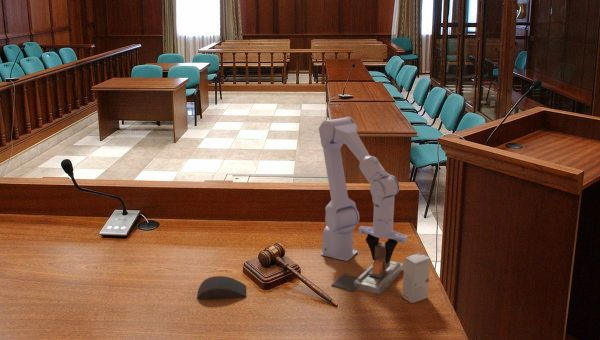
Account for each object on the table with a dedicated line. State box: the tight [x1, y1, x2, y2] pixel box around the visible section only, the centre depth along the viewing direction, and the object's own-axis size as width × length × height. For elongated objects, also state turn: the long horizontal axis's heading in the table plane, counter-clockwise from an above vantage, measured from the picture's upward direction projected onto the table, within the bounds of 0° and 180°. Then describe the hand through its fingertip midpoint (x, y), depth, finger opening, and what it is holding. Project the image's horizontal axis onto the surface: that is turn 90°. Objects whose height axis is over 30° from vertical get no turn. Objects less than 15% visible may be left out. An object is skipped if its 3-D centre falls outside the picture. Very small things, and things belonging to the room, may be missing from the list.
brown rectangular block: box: [373, 241, 390, 270], centre depth 180 cm, size 4×4×7 cm
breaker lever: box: [368, 260, 386, 278], centre depth 178 cm, size 4×4×4 cm
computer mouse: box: [196, 275, 247, 300], centre depth 172 cm, size 8×14×4 cm, turn 94°
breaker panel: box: [354, 260, 404, 296], centre depth 180 cm, size 8×18×3 cm, turn 149°
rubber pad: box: [331, 273, 359, 293], centre depth 178 cm, size 7×8×1 cm
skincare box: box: [402, 252, 431, 304], centre depth 168 cm, size 6×4×12 cm
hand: (381, 260), depth 180 cm, fingers closed on brown rectangular block, 3 cm apart
